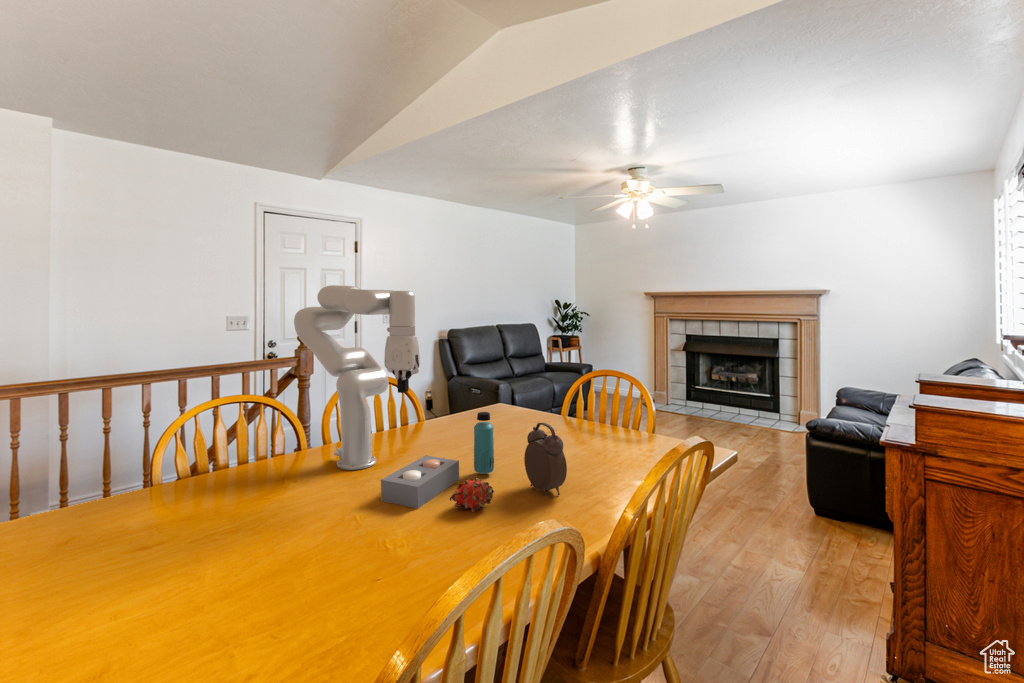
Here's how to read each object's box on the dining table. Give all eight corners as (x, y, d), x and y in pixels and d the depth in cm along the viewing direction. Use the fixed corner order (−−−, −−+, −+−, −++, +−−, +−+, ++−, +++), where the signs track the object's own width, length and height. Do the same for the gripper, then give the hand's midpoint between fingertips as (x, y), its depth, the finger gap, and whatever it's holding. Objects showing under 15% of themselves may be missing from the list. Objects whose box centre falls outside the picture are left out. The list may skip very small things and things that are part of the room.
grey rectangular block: (381, 500, 129) (380, 479, 128) (425, 473, 149) (425, 455, 149) (418, 508, 124) (417, 486, 124) (459, 479, 145) (459, 460, 144)
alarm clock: (570, 497, 132) (571, 428, 130) (549, 502, 129) (550, 431, 127) (542, 480, 145) (542, 416, 143) (521, 484, 141) (522, 419, 139)
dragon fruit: (497, 512, 126) (453, 524, 123) (489, 485, 132) (447, 495, 129) (498, 496, 120) (452, 507, 117) (490, 468, 126) (445, 478, 123)
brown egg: (419, 476, 140) (419, 463, 139) (429, 471, 144) (429, 458, 144) (434, 479, 138) (434, 466, 138) (443, 473, 142) (443, 460, 142)
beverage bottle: (491, 479, 145) (491, 415, 143) (470, 477, 146) (470, 414, 145) (496, 471, 152) (496, 410, 150) (476, 470, 153) (476, 409, 151)
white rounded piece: (399, 489, 131) (399, 475, 130) (410, 482, 135) (409, 469, 135) (414, 492, 129) (414, 477, 128) (424, 485, 133) (424, 471, 133)
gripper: (374, 331, 141) (375, 392, 142) (416, 333, 135) (416, 396, 136) (389, 330, 147) (390, 388, 149) (430, 332, 142) (430, 392, 143)
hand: (403, 391), depth 143 cm, fingers closed
